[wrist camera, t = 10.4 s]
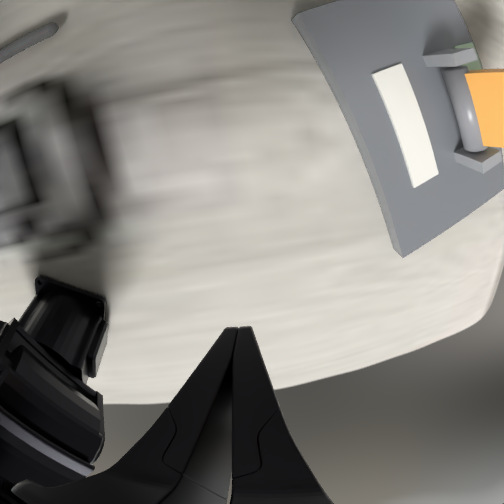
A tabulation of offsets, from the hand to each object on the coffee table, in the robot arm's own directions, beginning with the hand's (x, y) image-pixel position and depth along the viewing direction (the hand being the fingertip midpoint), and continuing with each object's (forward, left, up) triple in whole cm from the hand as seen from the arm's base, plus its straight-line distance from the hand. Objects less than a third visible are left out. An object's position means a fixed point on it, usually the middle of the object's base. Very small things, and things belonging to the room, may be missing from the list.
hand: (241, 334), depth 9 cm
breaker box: (+10, +12, -11) cm, 19 cm away
